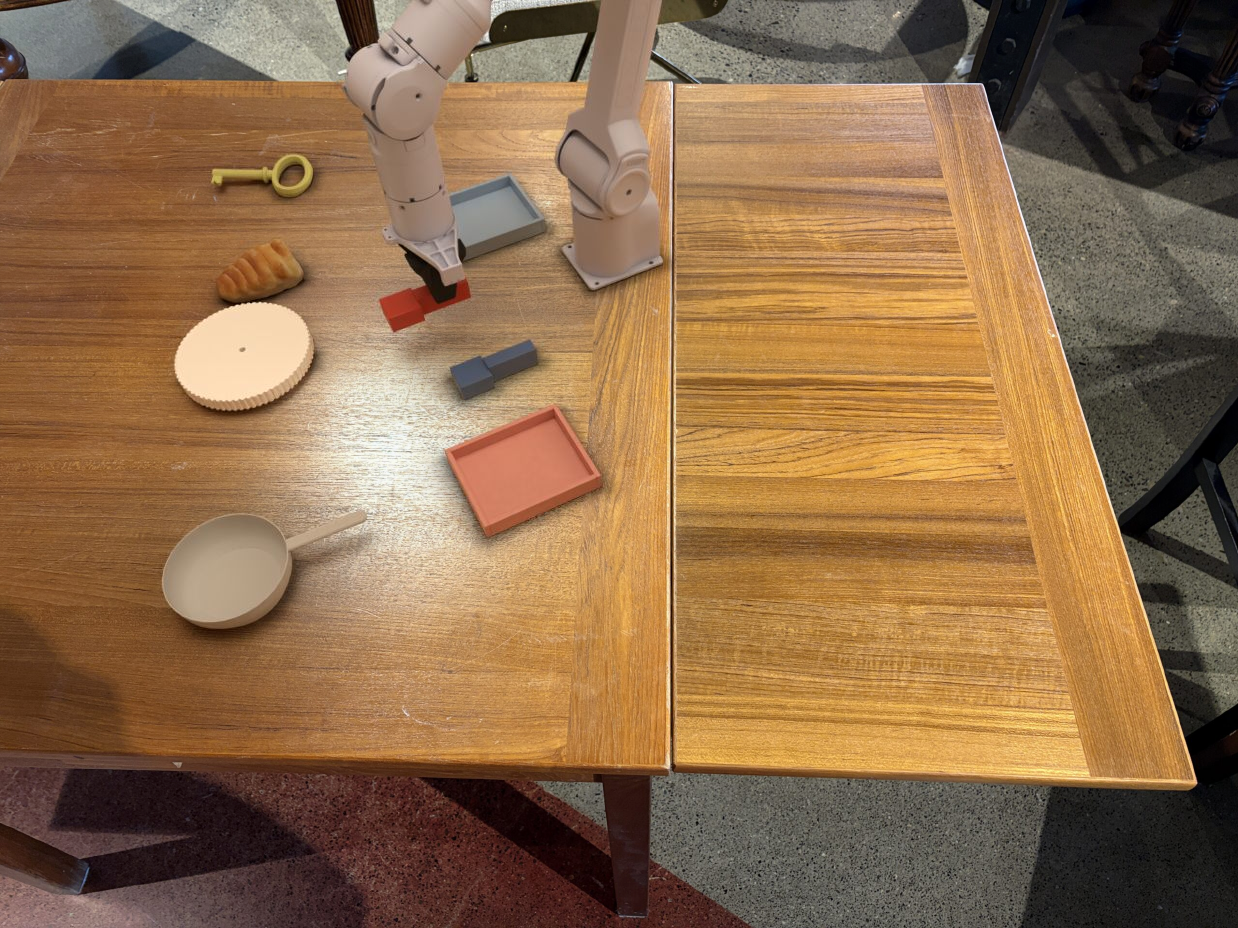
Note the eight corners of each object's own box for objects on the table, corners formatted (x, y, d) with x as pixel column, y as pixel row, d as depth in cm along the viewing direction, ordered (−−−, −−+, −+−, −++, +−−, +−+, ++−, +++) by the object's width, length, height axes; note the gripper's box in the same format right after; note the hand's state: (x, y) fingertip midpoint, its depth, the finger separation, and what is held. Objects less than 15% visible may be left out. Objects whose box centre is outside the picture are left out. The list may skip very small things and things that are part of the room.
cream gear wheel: (311, 307, 101) (304, 290, 99) (322, 398, 93) (315, 383, 91) (183, 334, 99) (173, 318, 97) (184, 430, 91) (173, 415, 89)
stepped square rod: (529, 349, 97) (526, 334, 95) (541, 369, 95) (539, 353, 93) (452, 379, 94) (448, 364, 92) (464, 400, 93) (460, 385, 91)
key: (213, 182, 114) (206, 168, 112) (309, 158, 117) (304, 144, 115) (221, 217, 110) (214, 202, 109) (320, 191, 113) (315, 177, 111)
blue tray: (512, 185, 113) (510, 172, 111) (546, 231, 107) (544, 218, 106) (423, 215, 110) (420, 203, 108) (453, 265, 104) (450, 252, 103)
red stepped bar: (463, 283, 95) (459, 266, 93) (474, 302, 93) (470, 285, 91) (383, 313, 92) (377, 296, 90) (393, 333, 91) (387, 316, 89)
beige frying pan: (171, 557, 83) (153, 536, 79) (362, 490, 86) (351, 468, 83) (188, 658, 77) (168, 639, 74) (391, 581, 81) (381, 561, 78)
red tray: (557, 415, 91) (555, 403, 90) (601, 486, 86) (601, 475, 85) (447, 461, 88) (444, 449, 87) (487, 538, 83) (484, 527, 82)
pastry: (235, 318, 100) (222, 293, 97) (211, 286, 103) (197, 261, 100) (311, 280, 103) (300, 254, 100) (284, 250, 107) (273, 225, 103)
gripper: (346, 152, 84) (381, 262, 95) (398, 244, 76) (430, 352, 87) (417, 130, 85) (444, 240, 96) (475, 217, 78) (496, 326, 89)
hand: (441, 292), depth 92 cm, fingers closed on red stepped bar, 1 cm apart
